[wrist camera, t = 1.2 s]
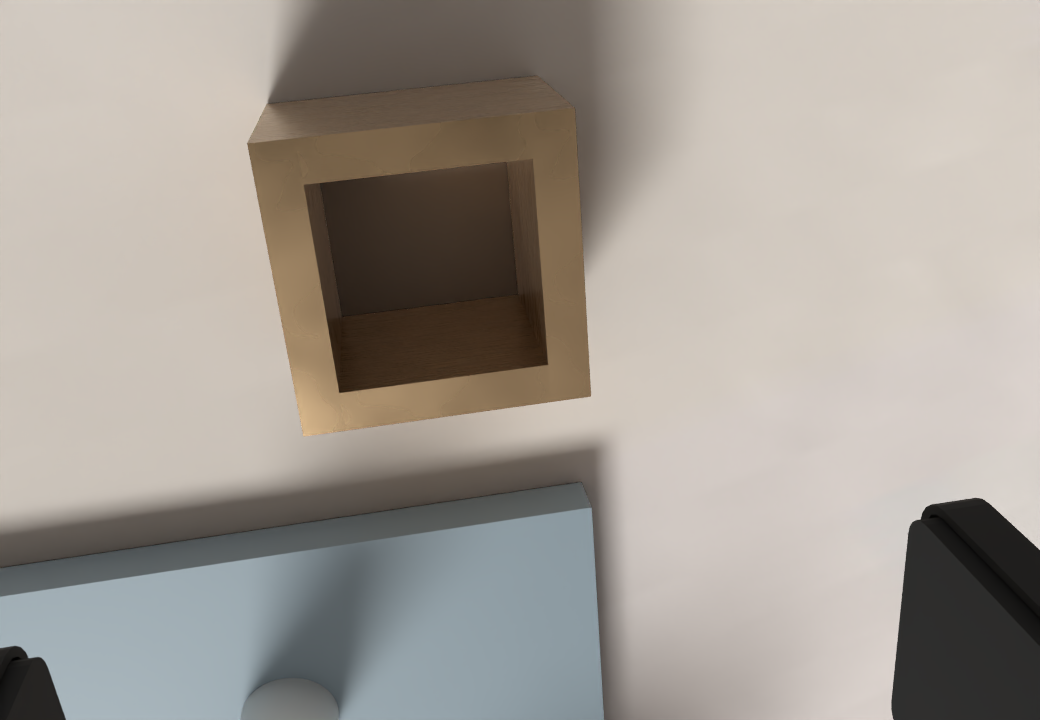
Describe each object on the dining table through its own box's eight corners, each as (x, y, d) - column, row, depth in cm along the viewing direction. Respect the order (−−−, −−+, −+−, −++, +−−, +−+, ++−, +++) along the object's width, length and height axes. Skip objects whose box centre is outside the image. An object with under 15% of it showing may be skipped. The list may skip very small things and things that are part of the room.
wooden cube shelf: (536, 75, 26) (574, 107, 22) (554, 322, 29) (590, 396, 24) (266, 104, 25) (247, 143, 21) (312, 354, 28) (303, 436, 24)
